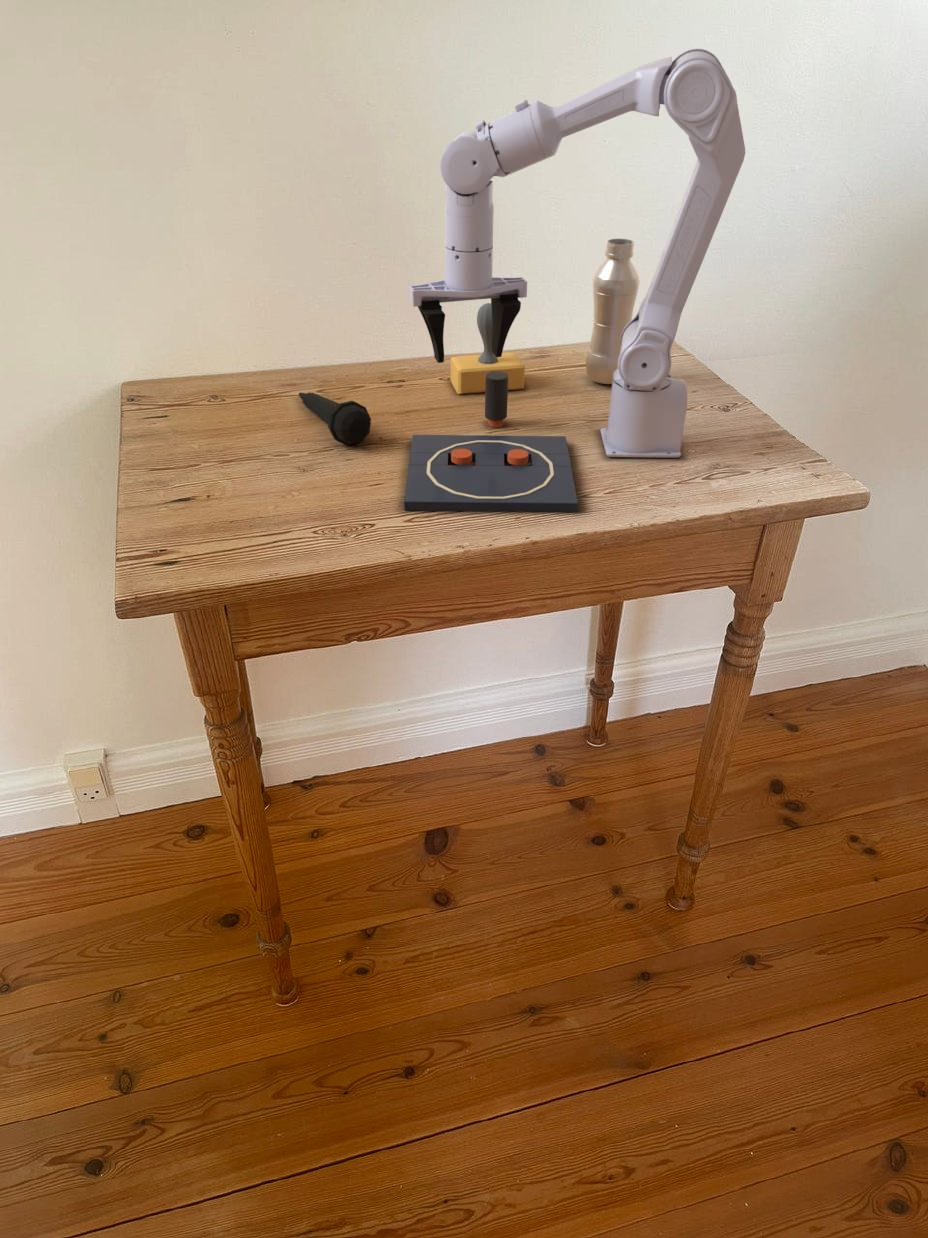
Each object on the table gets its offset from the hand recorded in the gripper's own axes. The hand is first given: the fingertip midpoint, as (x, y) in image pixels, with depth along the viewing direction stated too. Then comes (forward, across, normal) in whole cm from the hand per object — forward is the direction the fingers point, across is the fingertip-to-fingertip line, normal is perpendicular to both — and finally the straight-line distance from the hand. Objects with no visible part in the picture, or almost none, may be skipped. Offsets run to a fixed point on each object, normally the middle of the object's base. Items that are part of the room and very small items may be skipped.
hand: (468, 357), depth 118 cm
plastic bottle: (+10, -25, -12) cm, 30 cm away
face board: (+10, +1, +13) cm, 17 cm away
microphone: (+10, +17, -7) cm, 21 cm away
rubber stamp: (+10, -7, -15) cm, 20 cm away
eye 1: (+10, +4, +10) cm, 15 cm away
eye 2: (+9, -3, +12) cm, 15 cm away
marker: (+10, -4, -1) cm, 11 cm away
